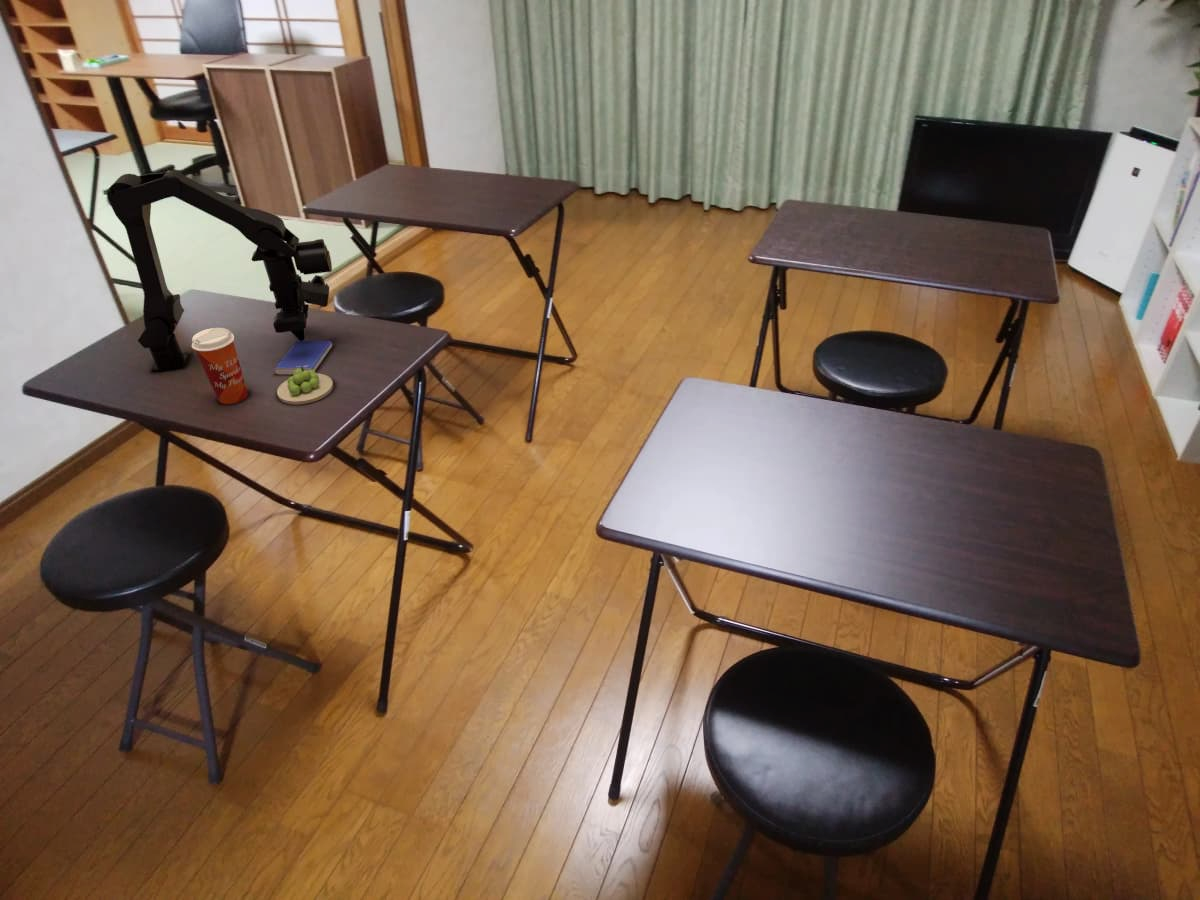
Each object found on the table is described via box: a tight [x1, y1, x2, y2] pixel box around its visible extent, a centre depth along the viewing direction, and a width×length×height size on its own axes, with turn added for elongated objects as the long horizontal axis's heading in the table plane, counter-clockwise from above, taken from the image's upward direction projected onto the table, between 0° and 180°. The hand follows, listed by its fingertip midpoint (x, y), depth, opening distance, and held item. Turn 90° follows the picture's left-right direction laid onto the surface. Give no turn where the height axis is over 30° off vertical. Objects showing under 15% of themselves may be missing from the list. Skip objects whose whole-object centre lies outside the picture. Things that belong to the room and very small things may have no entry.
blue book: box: [274, 340, 333, 375], centre depth 166 cm, size 2×8×12 cm
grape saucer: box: [276, 372, 334, 406], centre depth 156 cm, size 11×11×1 cm
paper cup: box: [191, 327, 248, 405], centre depth 151 cm, size 8×8×14 cm
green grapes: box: [287, 366, 319, 395], centre depth 155 cm, size 8×6×5 cm
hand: (302, 340), depth 171 cm, fingers closed, pressing on blue book
